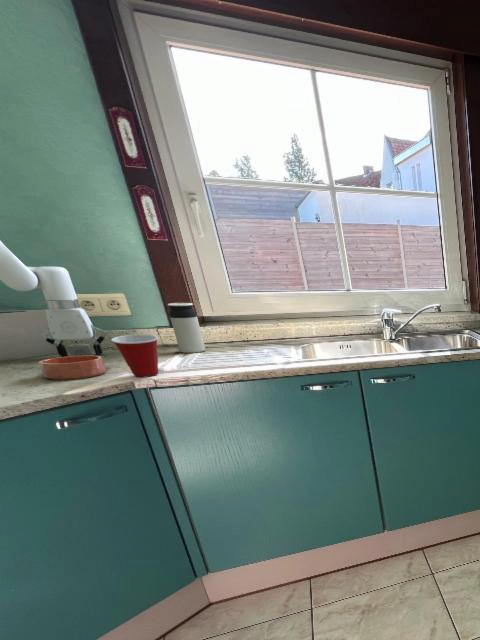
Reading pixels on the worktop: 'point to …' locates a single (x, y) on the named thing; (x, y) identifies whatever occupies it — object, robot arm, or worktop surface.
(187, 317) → the travel mug
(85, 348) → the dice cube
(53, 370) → the bowl
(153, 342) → the plastic cup
